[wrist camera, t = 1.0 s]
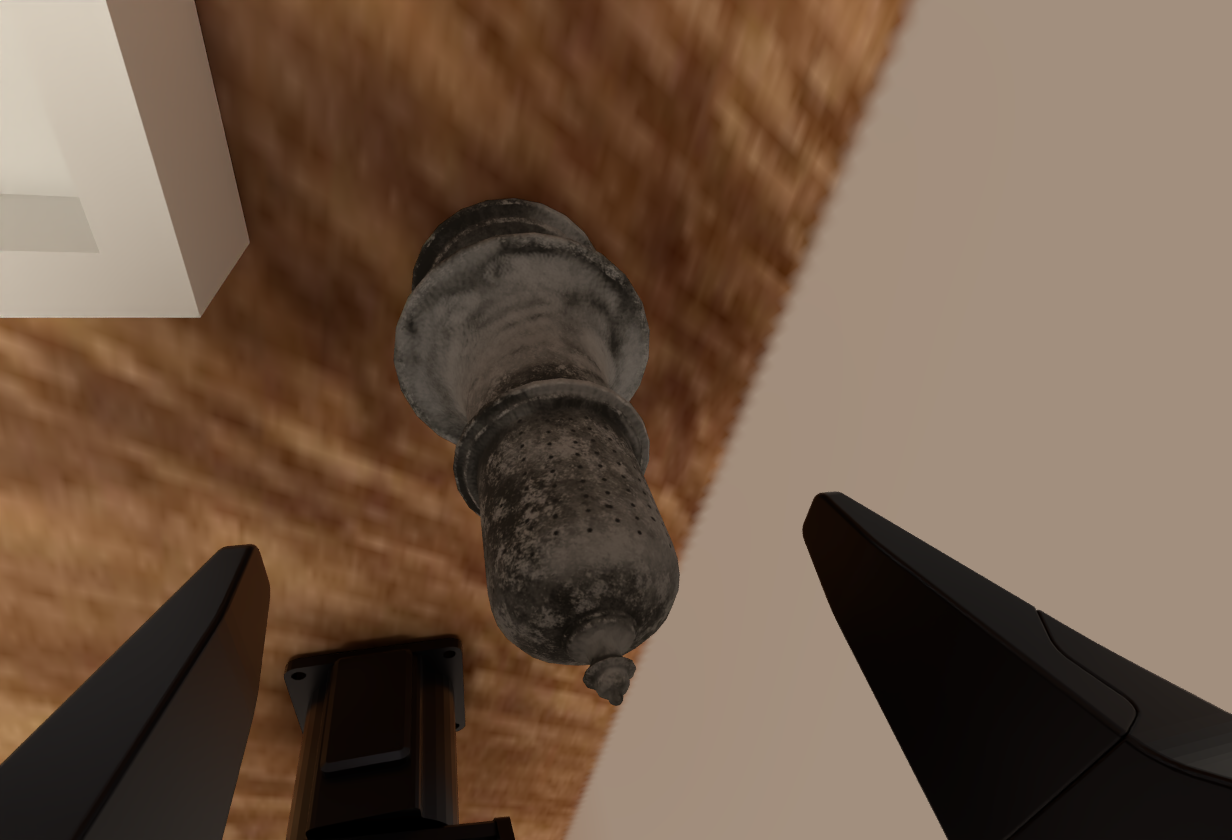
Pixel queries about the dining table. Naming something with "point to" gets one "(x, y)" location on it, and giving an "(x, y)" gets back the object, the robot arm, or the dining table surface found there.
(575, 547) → the grey stone turned post
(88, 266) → the condiment caddy
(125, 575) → the dining table surface
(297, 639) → the dining table surface
